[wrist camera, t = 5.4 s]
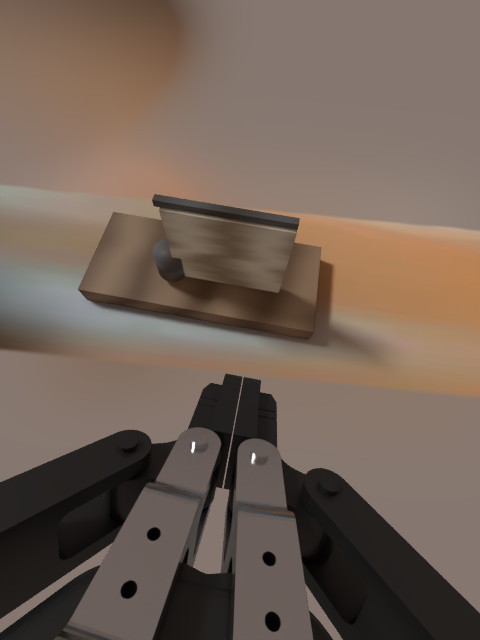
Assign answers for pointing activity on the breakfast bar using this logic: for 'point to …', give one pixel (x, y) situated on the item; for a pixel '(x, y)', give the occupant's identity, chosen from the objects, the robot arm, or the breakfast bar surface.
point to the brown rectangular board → (198, 283)
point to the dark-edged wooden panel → (223, 244)
